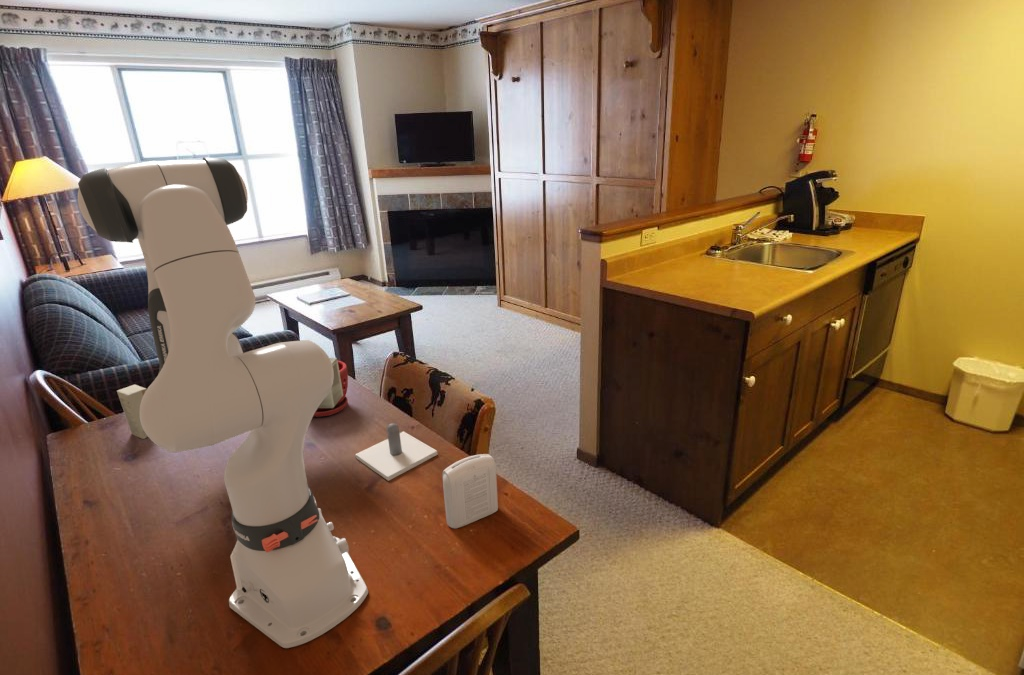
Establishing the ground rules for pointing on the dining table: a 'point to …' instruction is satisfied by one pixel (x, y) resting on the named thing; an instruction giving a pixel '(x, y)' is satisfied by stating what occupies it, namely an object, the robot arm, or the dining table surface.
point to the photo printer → (470, 490)
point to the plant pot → (343, 400)
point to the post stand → (395, 453)
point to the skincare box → (133, 408)
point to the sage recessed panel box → (333, 388)
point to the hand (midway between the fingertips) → (325, 380)
